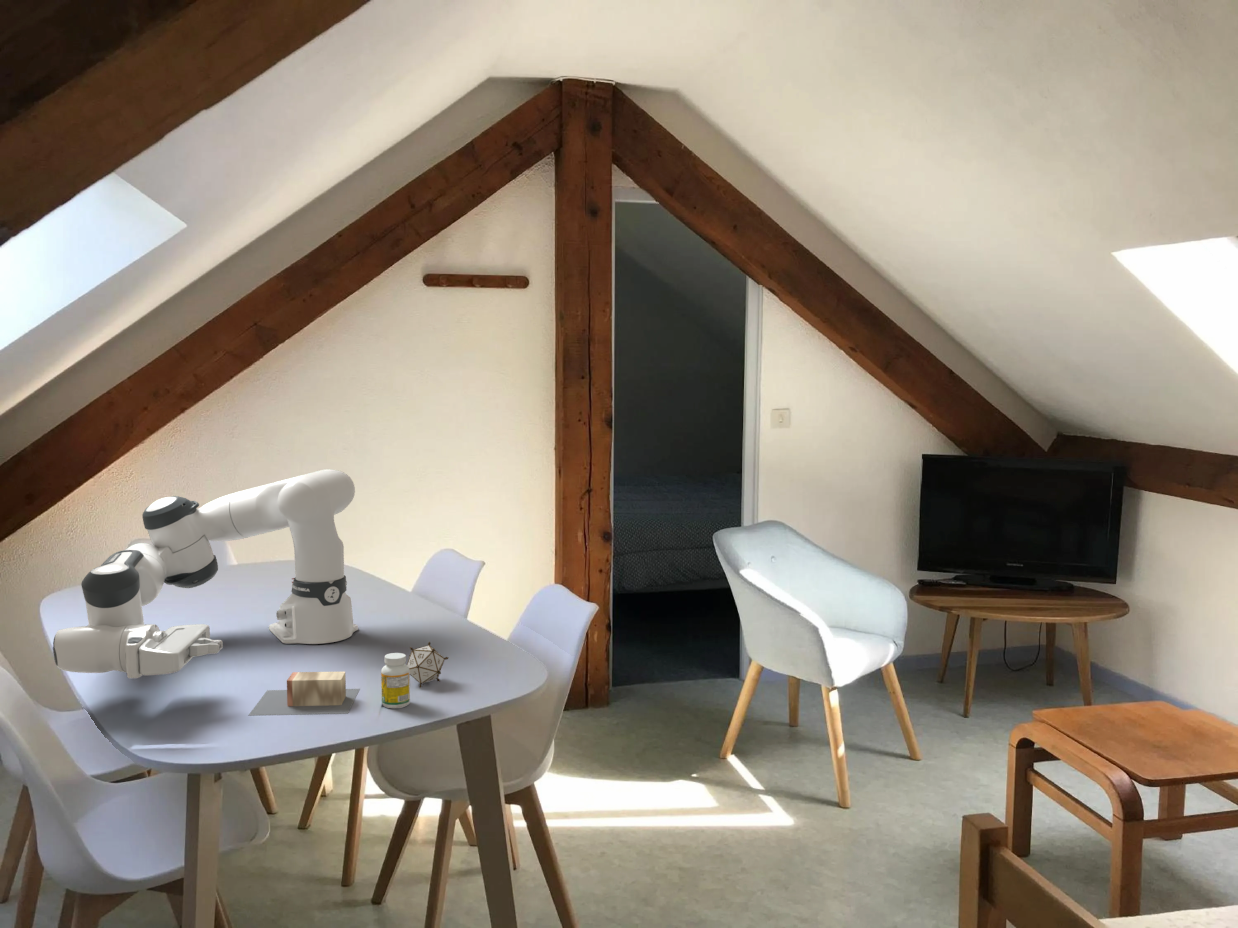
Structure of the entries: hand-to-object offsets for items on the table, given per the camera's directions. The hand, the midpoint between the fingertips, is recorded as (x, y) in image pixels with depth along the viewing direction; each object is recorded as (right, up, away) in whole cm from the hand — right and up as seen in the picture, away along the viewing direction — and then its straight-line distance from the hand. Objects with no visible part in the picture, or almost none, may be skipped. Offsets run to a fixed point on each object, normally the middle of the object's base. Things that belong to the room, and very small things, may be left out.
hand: (220, 646), depth 197 cm
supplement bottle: (+32, -12, +4) cm, 35 cm away
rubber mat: (+15, -12, +3) cm, 19 cm away
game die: (+36, -11, +16) cm, 41 cm away
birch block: (+12, -9, +3) cm, 15 cm away
